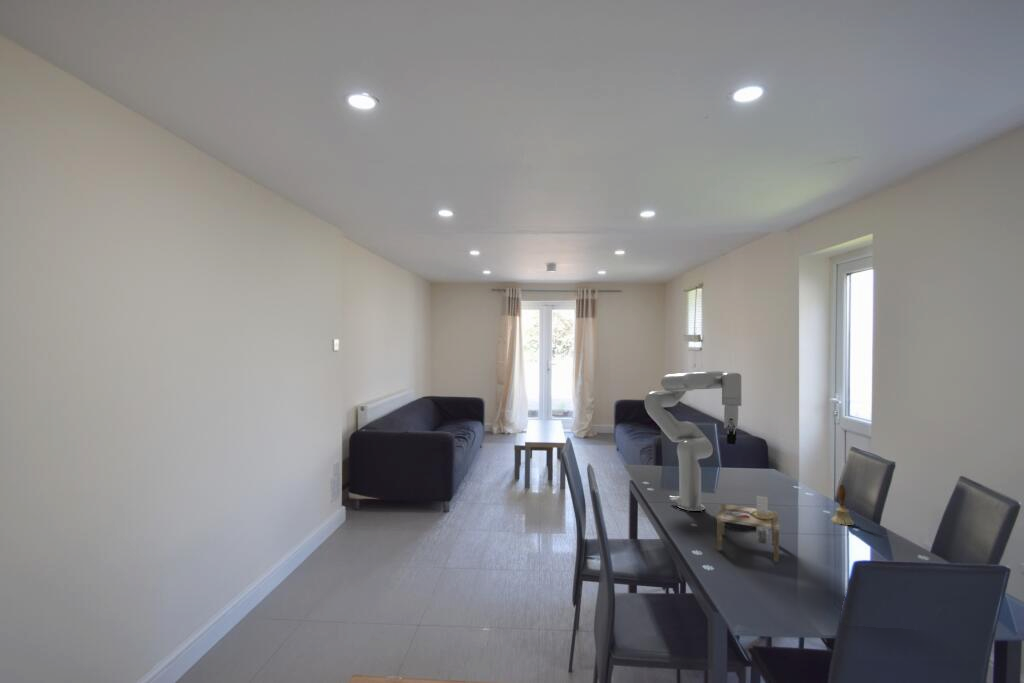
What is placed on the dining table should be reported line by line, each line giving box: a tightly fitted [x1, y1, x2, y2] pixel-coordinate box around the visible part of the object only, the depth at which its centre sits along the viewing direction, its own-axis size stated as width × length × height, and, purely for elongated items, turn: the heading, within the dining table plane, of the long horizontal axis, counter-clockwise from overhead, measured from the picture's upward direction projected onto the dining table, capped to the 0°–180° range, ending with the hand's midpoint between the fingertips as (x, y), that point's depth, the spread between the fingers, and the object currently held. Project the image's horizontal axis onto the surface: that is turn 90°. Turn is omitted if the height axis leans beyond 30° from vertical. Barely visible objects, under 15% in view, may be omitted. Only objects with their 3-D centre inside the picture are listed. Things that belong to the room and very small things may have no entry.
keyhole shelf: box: [715, 502, 781, 563], centre depth 172 cm, size 20×18×12 cm
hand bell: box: [830, 483, 855, 526], centre depth 198 cm, size 8×8×16 cm
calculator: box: [724, 511, 756, 531], centre depth 195 cm, size 11×4×15 cm
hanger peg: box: [752, 495, 773, 545], centre depth 170 cm, size 7×7×16 cm
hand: (731, 441), depth 197 cm, fingers open, 9 cm apart
